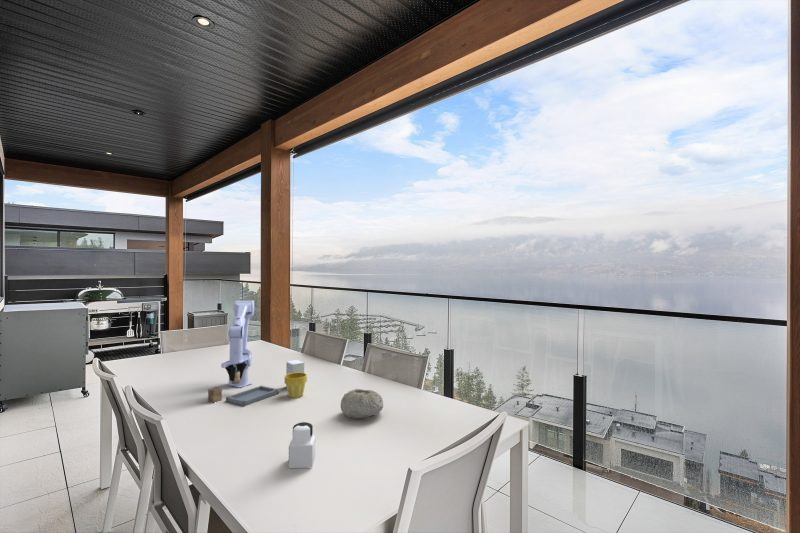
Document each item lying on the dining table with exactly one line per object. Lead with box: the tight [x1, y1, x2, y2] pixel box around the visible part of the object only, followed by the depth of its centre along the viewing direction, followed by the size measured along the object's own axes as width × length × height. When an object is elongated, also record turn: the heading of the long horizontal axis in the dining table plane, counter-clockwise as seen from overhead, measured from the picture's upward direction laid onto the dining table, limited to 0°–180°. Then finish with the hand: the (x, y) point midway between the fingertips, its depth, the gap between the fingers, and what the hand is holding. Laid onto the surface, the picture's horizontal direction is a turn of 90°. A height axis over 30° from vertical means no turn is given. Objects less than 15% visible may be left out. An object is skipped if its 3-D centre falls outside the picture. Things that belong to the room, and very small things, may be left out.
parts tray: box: [225, 385, 280, 407], centre depth 180 cm, size 12×20×2 cm, turn 151°
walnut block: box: [207, 386, 223, 404], centre depth 175 cm, size 4×4×6 cm
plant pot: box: [284, 372, 308, 399], centre depth 184 cm, size 10×10×10 cm
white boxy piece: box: [288, 421, 316, 469], centre depth 121 cm, size 7×7×12 cm
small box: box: [285, 359, 305, 388], centre depth 196 cm, size 8×6×13 cm
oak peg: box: [232, 370, 240, 384], centre depth 185 cm, size 4×4×6 cm
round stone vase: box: [340, 388, 384, 419], centre depth 160 cm, size 18×18×10 cm
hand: (235, 379), depth 185 cm, fingers closed on oak peg, 4 cm apart
